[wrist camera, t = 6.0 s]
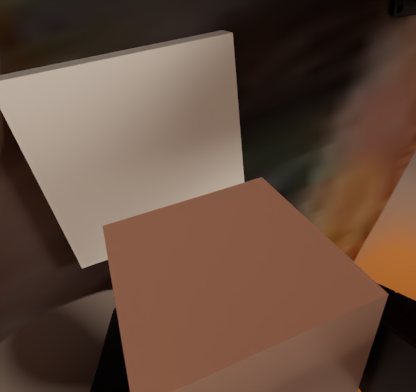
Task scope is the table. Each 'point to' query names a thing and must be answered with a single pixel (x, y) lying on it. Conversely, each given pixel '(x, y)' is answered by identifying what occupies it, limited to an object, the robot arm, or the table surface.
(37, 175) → the baseplate
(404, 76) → the table surface
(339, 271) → the terracotta block
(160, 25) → the table surface
